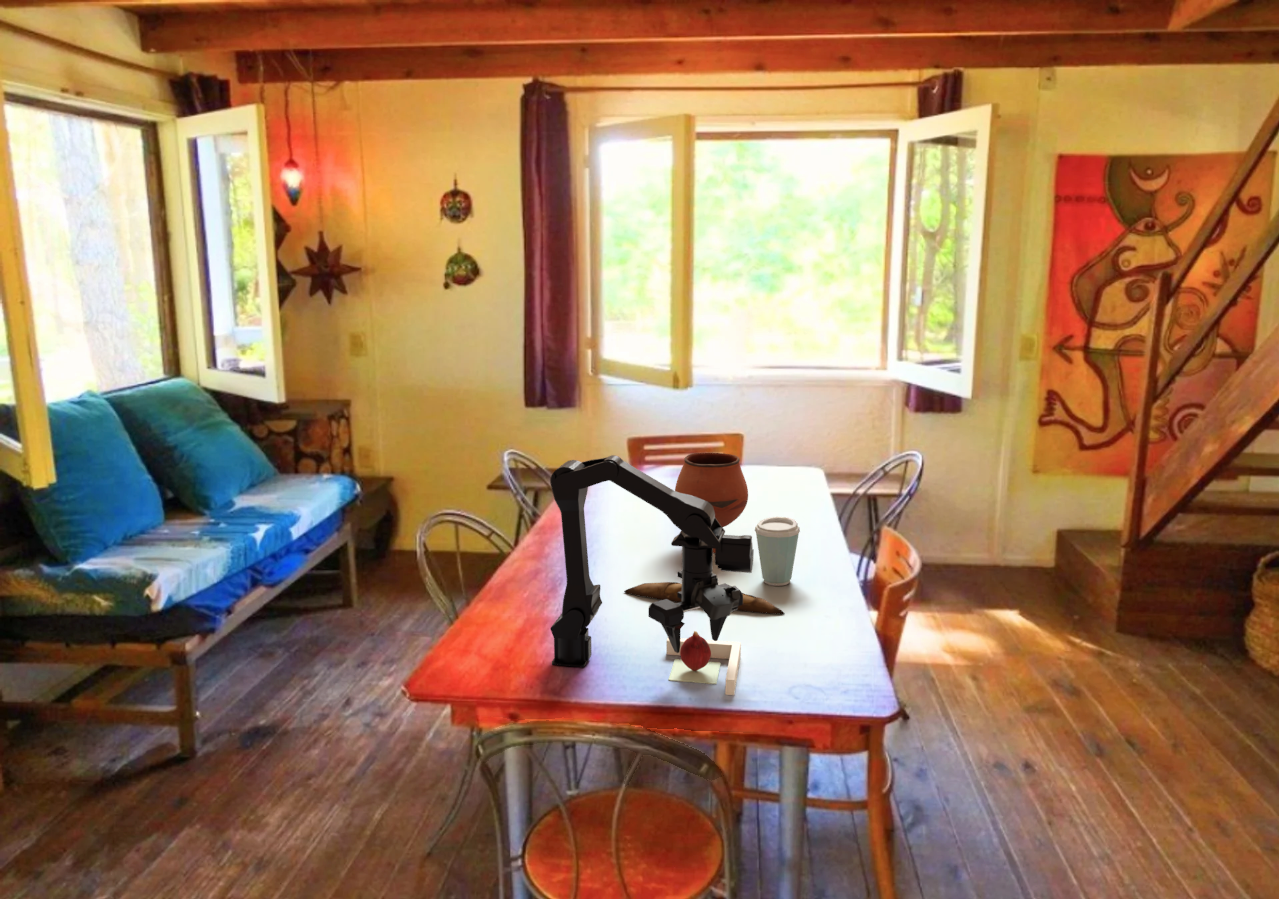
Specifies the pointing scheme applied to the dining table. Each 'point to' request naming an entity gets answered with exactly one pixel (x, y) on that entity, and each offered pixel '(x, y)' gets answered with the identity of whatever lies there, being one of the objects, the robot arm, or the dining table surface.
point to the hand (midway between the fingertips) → (696, 646)
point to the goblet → (715, 483)
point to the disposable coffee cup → (777, 548)
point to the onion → (695, 652)
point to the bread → (670, 592)
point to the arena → (709, 665)
